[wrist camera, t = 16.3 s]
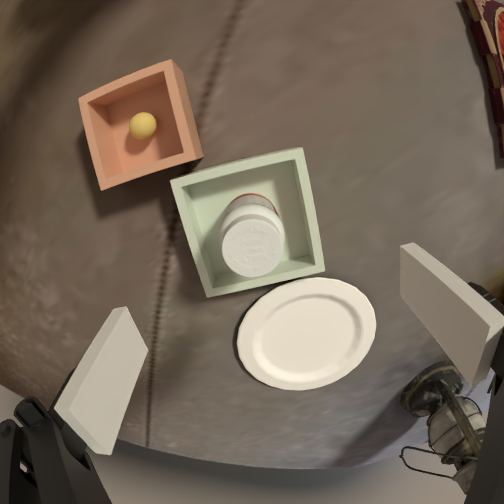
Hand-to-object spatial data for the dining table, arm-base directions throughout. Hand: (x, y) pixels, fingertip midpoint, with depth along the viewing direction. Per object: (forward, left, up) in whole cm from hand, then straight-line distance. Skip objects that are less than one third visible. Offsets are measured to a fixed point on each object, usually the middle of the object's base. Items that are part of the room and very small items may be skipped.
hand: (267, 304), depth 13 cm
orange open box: (-12, -10, -23) cm, 28 cm away
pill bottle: (+2, -1, -23) cm, 23 cm away
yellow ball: (-12, -10, -23) cm, 28 cm away
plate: (+21, +3, -24) cm, 32 cm away
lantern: (+45, +25, -24) cm, 57 cm away
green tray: (+2, -1, -23) cm, 24 cm away
